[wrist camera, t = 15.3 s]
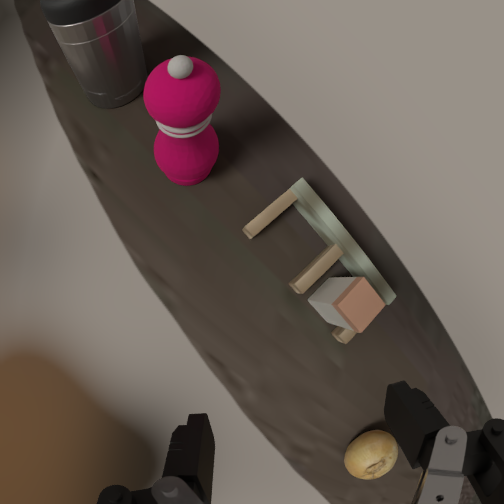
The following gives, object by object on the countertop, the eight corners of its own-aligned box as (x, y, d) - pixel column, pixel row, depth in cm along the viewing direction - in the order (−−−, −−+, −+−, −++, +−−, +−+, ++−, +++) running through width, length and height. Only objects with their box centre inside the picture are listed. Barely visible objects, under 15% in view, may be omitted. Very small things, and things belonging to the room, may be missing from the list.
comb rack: (241, 230, 38) (246, 224, 34) (292, 187, 39) (302, 177, 35) (337, 340, 38) (351, 346, 34) (380, 295, 40) (396, 296, 36)
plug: (307, 299, 38) (337, 305, 29) (329, 277, 39) (363, 276, 30) (327, 322, 38) (360, 333, 29) (348, 300, 39) (385, 304, 30)
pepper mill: (169, 130, 37) (152, 19, 17) (223, 144, 38) (246, 36, 18) (150, 181, 36) (109, 92, 17) (207, 196, 37) (215, 113, 18)
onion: (371, 414, 38) (397, 433, 31) (392, 441, 39) (417, 460, 32) (328, 451, 37) (349, 475, 30) (354, 475, 37) (375, 498, 30)
